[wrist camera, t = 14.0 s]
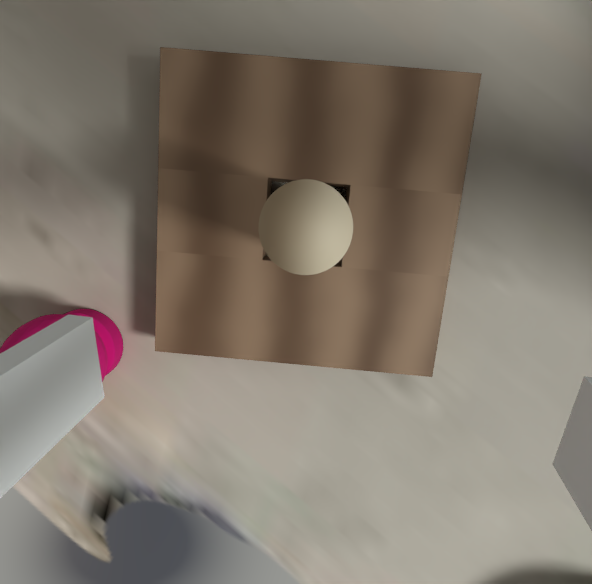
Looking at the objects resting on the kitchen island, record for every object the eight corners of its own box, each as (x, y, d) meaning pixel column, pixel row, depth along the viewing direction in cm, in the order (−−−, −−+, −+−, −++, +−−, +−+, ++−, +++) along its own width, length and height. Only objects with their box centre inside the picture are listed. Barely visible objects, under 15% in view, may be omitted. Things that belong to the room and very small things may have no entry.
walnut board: (464, 87, 30) (481, 73, 27) (421, 362, 34) (432, 376, 31) (174, 63, 30) (160, 47, 27) (168, 339, 34) (155, 351, 31)
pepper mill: (35, 356, 35) (-312, 536, 15) (67, 287, 34) (-267, 388, 14) (108, 395, 36) (-137, 617, 16) (143, 328, 34) (-79, 481, 15)
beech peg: (337, 196, 32) (359, 182, 18) (331, 252, 32) (348, 280, 19) (281, 191, 32) (260, 173, 18) (276, 247, 33) (254, 271, 19)
